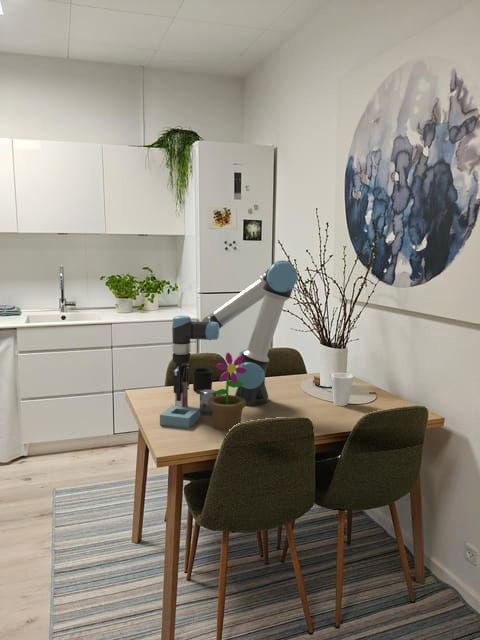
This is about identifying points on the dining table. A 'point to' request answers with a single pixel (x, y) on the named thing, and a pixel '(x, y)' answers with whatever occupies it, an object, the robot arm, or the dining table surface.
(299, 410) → the dining table surface
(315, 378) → the toy sandwich meal
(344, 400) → the foam cup
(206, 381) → the pen holder
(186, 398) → the square peg
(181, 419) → the bore block
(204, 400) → the round peg
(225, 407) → the flowerpot
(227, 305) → the robot arm
